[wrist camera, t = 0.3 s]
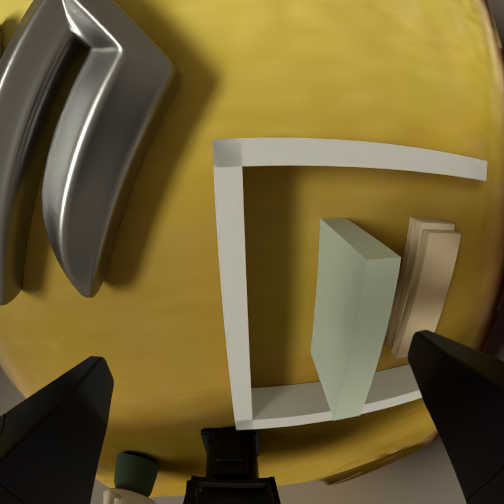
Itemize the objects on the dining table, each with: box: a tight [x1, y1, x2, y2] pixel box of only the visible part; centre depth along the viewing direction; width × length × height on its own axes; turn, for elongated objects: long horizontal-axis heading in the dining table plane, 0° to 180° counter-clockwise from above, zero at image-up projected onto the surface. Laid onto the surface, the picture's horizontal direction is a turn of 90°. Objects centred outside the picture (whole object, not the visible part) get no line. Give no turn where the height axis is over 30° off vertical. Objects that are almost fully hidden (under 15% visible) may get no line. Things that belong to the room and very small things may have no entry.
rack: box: [212, 138, 487, 430], centre depth 20 cm, size 23×20×4 cm
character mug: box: [103, 453, 159, 504], centre depth 24 cm, size 11×7×13 cm, turn 6°
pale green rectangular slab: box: [311, 218, 401, 420], centre depth 19 cm, size 12×2×8 cm, turn 2°
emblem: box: [0, 0, 181, 305], centre depth 14 cm, size 28×5×28 cm
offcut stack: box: [384, 217, 461, 359], centre depth 22 cm, size 12×4×3 cm, turn 179°
